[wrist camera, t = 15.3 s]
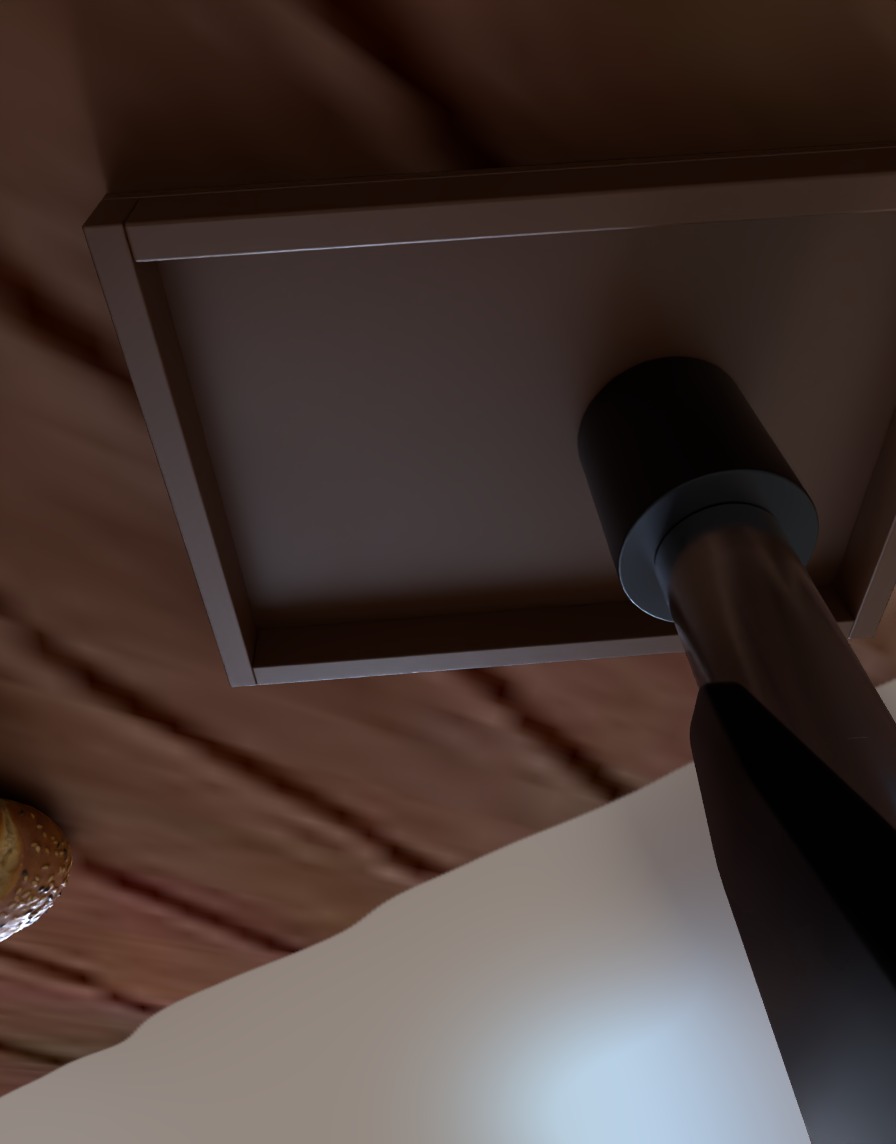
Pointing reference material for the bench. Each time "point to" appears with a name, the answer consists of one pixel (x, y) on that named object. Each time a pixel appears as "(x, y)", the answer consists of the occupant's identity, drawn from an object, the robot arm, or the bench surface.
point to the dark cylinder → (731, 558)
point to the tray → (491, 389)
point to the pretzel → (29, 865)
